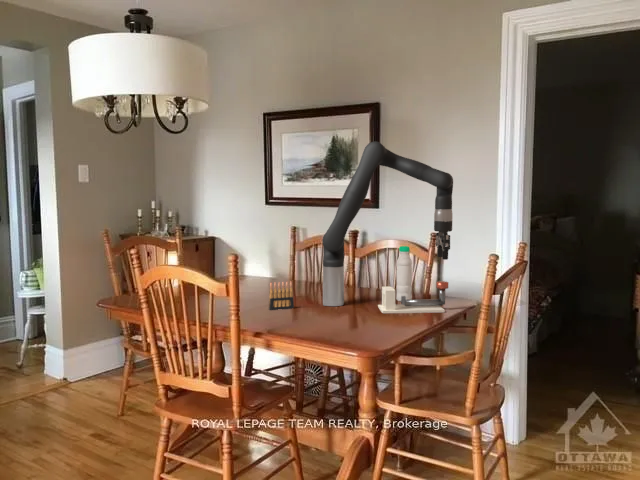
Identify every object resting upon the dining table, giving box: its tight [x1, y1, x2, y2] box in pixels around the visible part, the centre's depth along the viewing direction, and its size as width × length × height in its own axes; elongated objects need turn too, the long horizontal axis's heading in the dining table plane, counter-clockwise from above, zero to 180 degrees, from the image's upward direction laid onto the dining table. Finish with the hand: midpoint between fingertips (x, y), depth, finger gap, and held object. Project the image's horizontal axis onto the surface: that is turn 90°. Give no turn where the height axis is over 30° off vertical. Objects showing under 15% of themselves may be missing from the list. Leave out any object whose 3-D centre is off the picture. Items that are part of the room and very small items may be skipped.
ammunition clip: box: [268, 280, 295, 311], centre depth 245 cm, size 11×2×12 cm, turn 109°
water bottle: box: [395, 245, 413, 302], centre depth 262 cm, size 7×7×25 cm
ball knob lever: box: [400, 280, 449, 307], centre depth 243 cm, size 20×5×10 cm, turn 93°
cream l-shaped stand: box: [377, 286, 446, 314], centre depth 243 cm, size 26×13×9 cm, turn 93°
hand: (442, 258), depth 242 cm, fingers open, 8 cm apart
